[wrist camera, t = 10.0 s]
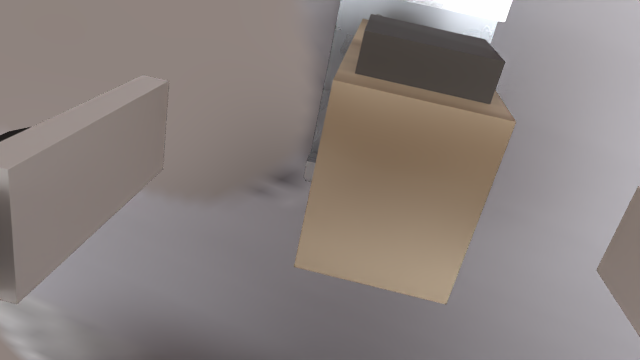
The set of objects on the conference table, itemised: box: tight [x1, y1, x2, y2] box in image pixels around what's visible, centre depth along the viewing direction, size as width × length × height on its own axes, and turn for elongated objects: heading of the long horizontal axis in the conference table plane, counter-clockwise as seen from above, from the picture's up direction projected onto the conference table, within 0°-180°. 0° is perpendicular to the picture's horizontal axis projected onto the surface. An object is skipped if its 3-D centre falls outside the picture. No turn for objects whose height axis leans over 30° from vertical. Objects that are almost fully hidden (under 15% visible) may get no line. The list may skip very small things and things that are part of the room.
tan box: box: [294, 14, 516, 304], centre depth 16 cm, size 6×4×10 cm, turn 169°
